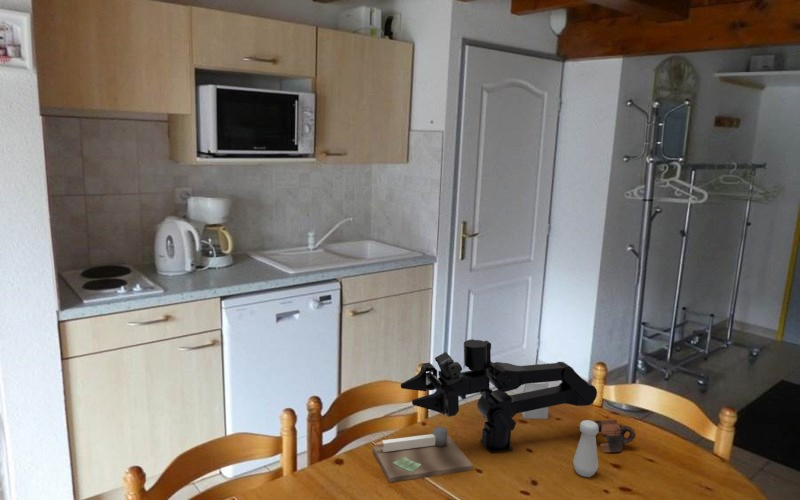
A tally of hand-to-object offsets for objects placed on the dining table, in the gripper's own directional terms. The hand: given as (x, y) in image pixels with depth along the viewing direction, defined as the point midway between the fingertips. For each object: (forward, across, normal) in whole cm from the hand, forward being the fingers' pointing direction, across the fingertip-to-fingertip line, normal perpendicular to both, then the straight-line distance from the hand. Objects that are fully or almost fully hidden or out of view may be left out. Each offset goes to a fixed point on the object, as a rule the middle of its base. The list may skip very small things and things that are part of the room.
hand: (406, 394), depth 142 cm
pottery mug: (-54, +7, +22) cm, 58 cm away
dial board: (-2, +3, +17) cm, 17 cm away
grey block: (-42, -13, +21) cm, 49 cm away
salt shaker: (-39, +17, +20) cm, 47 cm away
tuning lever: (-1, -2, +16) cm, 16 cm away
